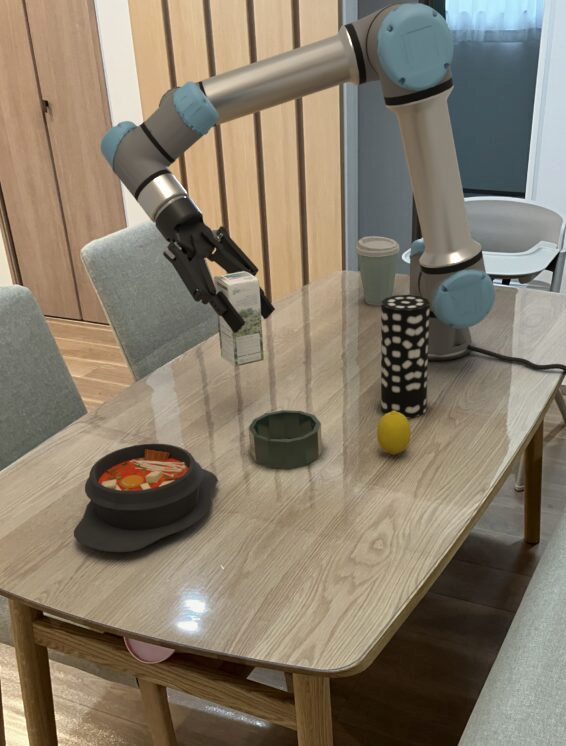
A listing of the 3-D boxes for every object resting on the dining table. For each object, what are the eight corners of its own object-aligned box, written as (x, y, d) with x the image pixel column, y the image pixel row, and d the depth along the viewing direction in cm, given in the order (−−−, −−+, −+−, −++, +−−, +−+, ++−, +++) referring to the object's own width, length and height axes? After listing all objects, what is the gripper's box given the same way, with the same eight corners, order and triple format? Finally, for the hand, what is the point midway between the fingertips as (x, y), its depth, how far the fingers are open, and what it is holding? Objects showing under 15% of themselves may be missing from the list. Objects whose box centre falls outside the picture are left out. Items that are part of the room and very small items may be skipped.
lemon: (387, 465, 134) (388, 421, 130) (371, 452, 139) (370, 408, 134) (416, 457, 136) (417, 413, 132) (399, 444, 141) (399, 401, 136)
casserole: (148, 466, 136) (141, 420, 132) (246, 488, 130) (242, 440, 125) (45, 546, 117) (31, 495, 113) (153, 576, 110) (144, 523, 106)
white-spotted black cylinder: (432, 403, 154) (436, 297, 143) (417, 421, 148) (420, 312, 137) (390, 396, 157) (391, 292, 147) (374, 414, 151) (373, 307, 140)
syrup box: (250, 350, 147) (243, 269, 140) (265, 361, 143) (259, 277, 135) (220, 357, 145) (212, 275, 137) (235, 368, 141) (227, 283, 133)
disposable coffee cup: (405, 297, 207) (406, 236, 199) (390, 311, 199) (390, 247, 191) (366, 293, 211) (365, 233, 203) (349, 306, 203) (348, 244, 195)
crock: (326, 438, 143) (325, 411, 141) (314, 470, 134) (312, 443, 131) (261, 434, 145) (259, 408, 142) (244, 466, 135) (241, 439, 133)
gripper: (202, 213, 147) (280, 316, 148) (118, 238, 133) (204, 352, 134) (222, 184, 142) (302, 291, 143) (136, 207, 128) (226, 326, 129)
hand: (255, 320), depth 138 cm, fingers closed on syrup box, 7 cm apart
